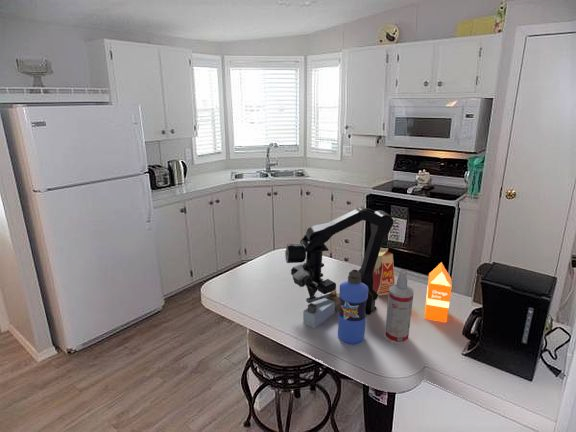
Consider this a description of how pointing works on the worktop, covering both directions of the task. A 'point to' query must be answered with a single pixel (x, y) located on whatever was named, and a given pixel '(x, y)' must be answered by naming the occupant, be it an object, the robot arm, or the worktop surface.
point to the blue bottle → (352, 309)
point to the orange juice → (438, 294)
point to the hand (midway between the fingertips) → (311, 298)
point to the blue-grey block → (318, 312)
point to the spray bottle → (399, 310)
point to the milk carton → (383, 272)
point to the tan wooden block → (337, 301)
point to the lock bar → (320, 296)
